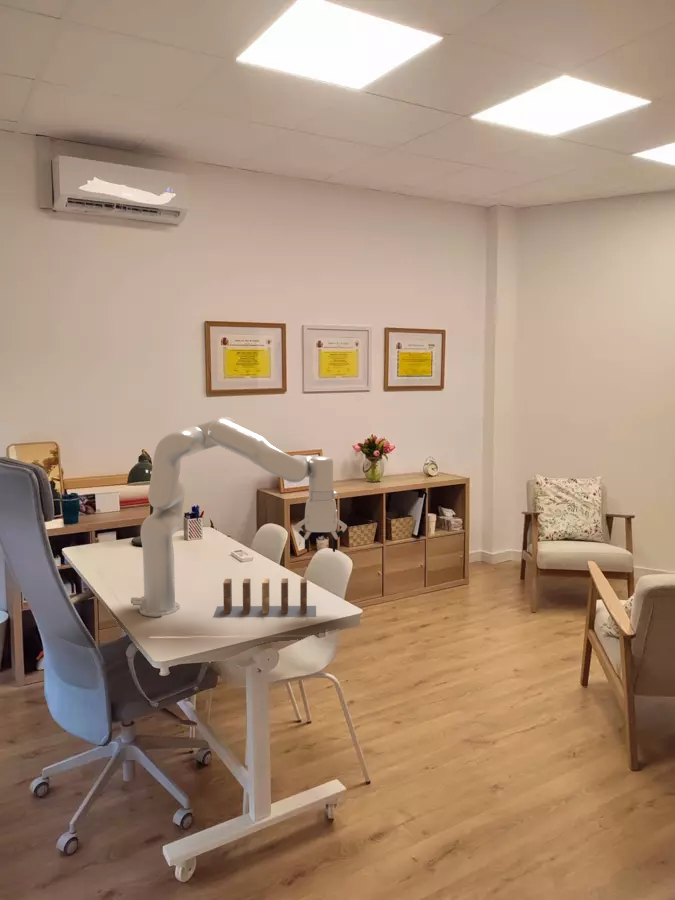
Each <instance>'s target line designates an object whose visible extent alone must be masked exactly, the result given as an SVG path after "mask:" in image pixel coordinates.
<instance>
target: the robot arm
mask: <svg viewBox="0 0 675 900" xmlns="http://www.w3.org/2000/svg"><path fill="white" fill-rule="evenodd" d="M217 446H219V447H221V448H224V449H225V450H228V451H229V452H231V453H234V454H236V455H238V456H240V457H241V458H244V459H246V460H248V461H250V462H251V463H253V464H254V465H256V466H258V467H260V468H262V469H263V470H264V471H266V472H268V473H270V474H272V475H274V476H276V477H278V478H280V479H283V480H285V481H287V482H289V483H300V482H302V481H303V480H304V479H305V478H308V498H307V499H306V503H305V509H304V518H303V519H302V520H301V521H299V522H298V523H297V524H295V525H294V529H295V530H296V532H298V534H299V535H300V536H301V537H302V538H303V540H304V549H305V550H306V552H307V553H309V552H310V538H309V537H310V535H311V534H312V533H331V535H332V552H333V553H335V552H336V550H337V549H338V539H339V538H340V537H341V536H342V535H343V534H344V532H345V531H346V530H347V529H348V526H347V524H346V523H344V522H343V521H341V520H340V519H339V518H338V510H337V504H336V503H337V501H336V499H334V498H335V497H338V495H339V494H338V493H339V492H337V491H334V460H333V458H332V457H330V456H326V455H325V456H324V455H315V456H308V455H303V454H302V455H301V454H295V455H290V454H288V453H286V452H284V451H282V450H280V449H278V448H276V447H275V446H273V444H271V443H270V442H269V441H268V440H267V439H266V438H265V437H264V436H263V435H261V434H259V433H256V432H255V431H252V430H250V429H249V428H246V427H244V426H242V425H240V424H238V422H237V421H236V420H235V419H234V418H232V417H230V416H221V417H217V418H216V419H213V420H210V421H206V422H203V423H200V424H195V425H193V426H188V427H185V428H182V429H180V430H179V429H178V430H176V431H173V432H171V433H168V434H166V435H165V436H163V438H161V439H160V441H159V442H158V443H157V444H156V447H155V450H154V454H153V459H152V467H151V472H150V473H151V474H150V482H149V487H148V494H147V497H148V498H147V499H148V500H147V501H148V502H149V504H150V506H151V507H153V509H152V510H153V511H152V512H151V514H149V515H148V516H147V517H145V519H144V520H143V522H142V524H141V525H140V540H141V546H142V563H143V565H142V566H143V567H142V568H143V596H141V597H130V604H132V606H140V607H139V613H140V614H141V615H142V616H145V617H153V618H159V617H162V616H167V615H171V614H174V613H176V612H178V611H179V610H180V609H181V604H180V603H178V602H176V588H175V587H176V586H175V584H176V583H175V582H176V581H175V578H176V577H175V575H176V574H175V553H174V552H175V551H174V543H173V536H174V535H175V534H176V533H177V531H178V530H179V528H180V526H181V522H182V515H183V507H184V500H185V486H184V483H183V482H182V481H181V479H180V471H181V462H182V461H181V460H182V459H183V458H185V457H189V456H192V455H194V454H196V453H199V452H202V451H206V450H209V449H212V448H215V447H217ZM303 526H304V530H305V531H304V530H303V529H302V528H301V527H303ZM338 526H340V527H341V528H340V529H339V530H338ZM337 530H338V531H337Z"/></svg>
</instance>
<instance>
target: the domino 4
mask: <svg viewBox="0 0 675 900" xmlns="http://www.w3.org/2000/svg"><path fill="white" fill-rule="evenodd" d="M280 585H281V587H280V590H281V591H280V594H281V595H280V599H281V600H280V602H281V604H280V606H281V614H288V606H289V578H281V581H280Z"/></svg>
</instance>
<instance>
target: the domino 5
mask: <svg viewBox="0 0 675 900" xmlns="http://www.w3.org/2000/svg"><path fill="white" fill-rule="evenodd" d="M299 583H300V584H299V585H300V587H299V588H300V589H299V591H300V593H299V595H300V598H299V602H300V603H299V604H300V605H299V606H300V614H307V606H308V579H307V578H300V581H299Z"/></svg>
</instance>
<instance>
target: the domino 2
mask: <svg viewBox="0 0 675 900" xmlns="http://www.w3.org/2000/svg"><path fill="white" fill-rule="evenodd" d="M251 589H252V588H251V578H243V582H242V606H243V614H249V613H250V609H251V606H252V605H251V604H252V603H251V593H252V592H251Z"/></svg>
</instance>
